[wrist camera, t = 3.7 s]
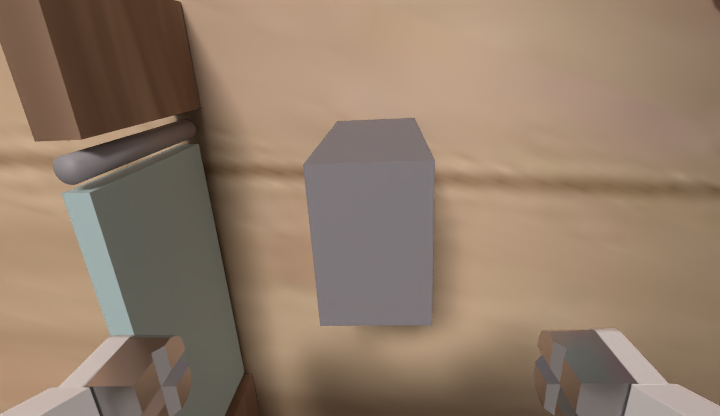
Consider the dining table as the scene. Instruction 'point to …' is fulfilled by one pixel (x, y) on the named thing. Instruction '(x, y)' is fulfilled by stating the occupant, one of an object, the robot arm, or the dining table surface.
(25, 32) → the wooden blocks
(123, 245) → the door
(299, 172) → the dining table surface
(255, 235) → the dining table surface
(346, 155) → the block
